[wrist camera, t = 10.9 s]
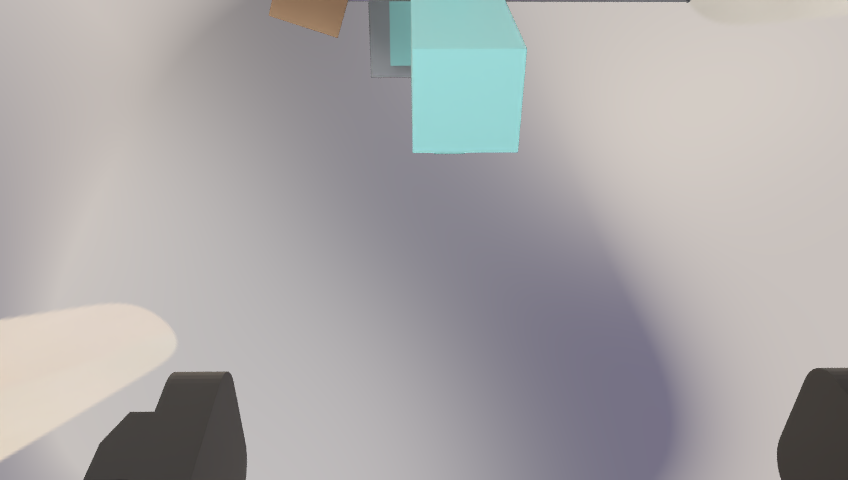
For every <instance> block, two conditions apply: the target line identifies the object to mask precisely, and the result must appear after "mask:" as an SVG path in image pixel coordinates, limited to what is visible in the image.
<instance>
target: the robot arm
mask: <svg viewBox="0 0 848 480" xmlns="http://www.w3.org/2000/svg"><path fill="white" fill-rule="evenodd" d="M777 462H778V469H779V473H780V477H781V480H848V368H816V369H813V370H812V371H810V372H809V374H808V375H807V377H806V378H805V380H804V383H803V385H802V387H801V390H800V392H799V395H798V397H797V399H796V402H795V404H794V407H793V409H792V411H791V413H790V416H789V418H788V420H787V423H786V425H785V428H784V430H783V432H782V435H781V437H780V440H779V443H778V448H777ZM246 467H247V453H246V444H245V438H244V433H243V428H242V423H241V418H240V413H239V407H238V402H237V397H236V392H235V387H234V382H233V378H232V375H231V374H230V373H229V372H174V373H172V374H171V375H170V376H169V378H168V380H167V382H166V384H165V386H164V389H163V392H162V394H161V397H160V399H159V402H158V404H157V407H156V409H155V412H130V413H129V414H128V415H127V416H126V417H125V418H124V419H123V420H122V421H121V422H120V423H119V424H118V425H117V426H116V427H115V428H114V429H113V430H112V431H111V432H110V433H109V435H108V436H107V437H106V438H105V439H104V440H103V441H102V442H101V443H100V444H99V447H98V449H97V451H96V453H95V455H94V458H93V460H92V462H91V464H90V466H89V469H88V471H87V473H86V475H85V477H84V480H246Z"/></svg>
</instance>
